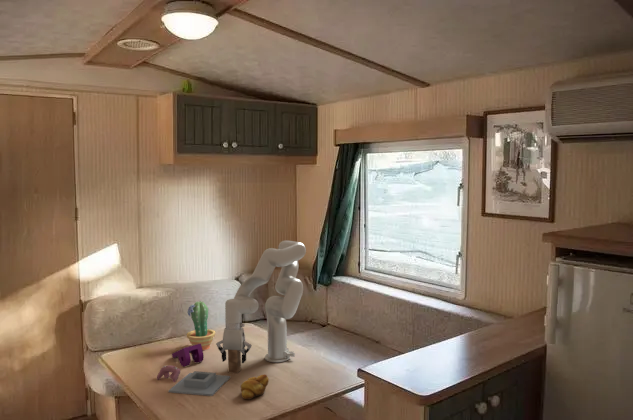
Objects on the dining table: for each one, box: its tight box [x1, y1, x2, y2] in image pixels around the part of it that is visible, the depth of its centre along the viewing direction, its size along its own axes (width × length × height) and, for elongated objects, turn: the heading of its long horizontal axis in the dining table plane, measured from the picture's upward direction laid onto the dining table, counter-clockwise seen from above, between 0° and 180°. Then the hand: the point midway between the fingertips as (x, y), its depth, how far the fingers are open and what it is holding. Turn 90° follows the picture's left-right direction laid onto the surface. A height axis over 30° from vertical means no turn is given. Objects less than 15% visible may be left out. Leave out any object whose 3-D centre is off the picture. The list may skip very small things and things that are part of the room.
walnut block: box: [227, 350, 242, 374], centre depth 241 cm, size 4×4×11 cm
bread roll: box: [240, 374, 270, 400], centre depth 215 cm, size 13×10×8 cm
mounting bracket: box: [171, 344, 205, 368], centre depth 255 cm, size 9×8×18 cm
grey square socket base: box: [168, 370, 231, 397], centre depth 226 cm, size 20×20×4 cm
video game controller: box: [156, 364, 181, 383], centre depth 233 cm, size 10×5×7 cm, turn 71°
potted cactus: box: [186, 300, 216, 351], centre depth 275 cm, size 15×15×25 cm
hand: (233, 361), depth 241 cm, fingers open, 9 cm apart
